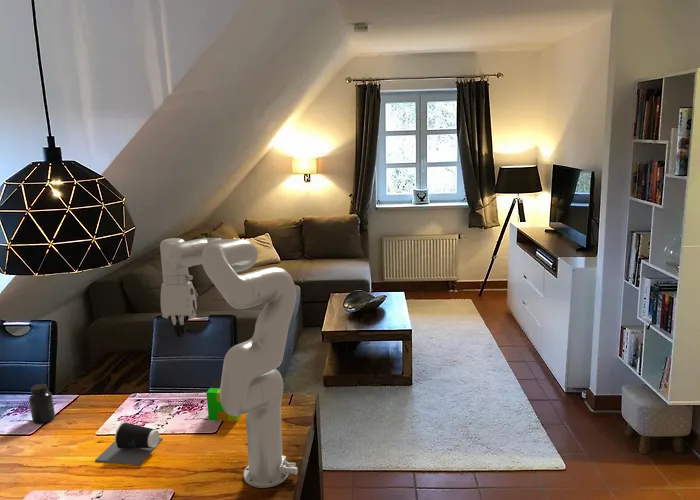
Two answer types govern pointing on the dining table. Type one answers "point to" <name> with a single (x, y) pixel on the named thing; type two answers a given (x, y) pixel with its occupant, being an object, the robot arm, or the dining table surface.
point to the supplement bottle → (41, 404)
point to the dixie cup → (135, 436)
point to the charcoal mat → (125, 454)
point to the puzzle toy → (217, 404)
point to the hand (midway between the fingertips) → (181, 335)
